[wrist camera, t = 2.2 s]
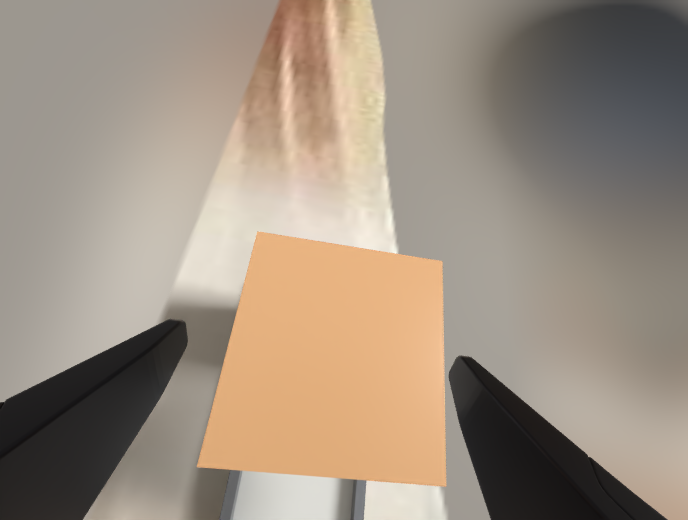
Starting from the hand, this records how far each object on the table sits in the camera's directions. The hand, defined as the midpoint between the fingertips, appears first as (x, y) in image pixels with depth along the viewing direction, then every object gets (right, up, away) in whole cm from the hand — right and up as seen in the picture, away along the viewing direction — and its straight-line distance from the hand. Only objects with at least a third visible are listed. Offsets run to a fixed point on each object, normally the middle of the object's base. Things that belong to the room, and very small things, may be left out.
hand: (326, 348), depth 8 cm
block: (-1, -3, +8) cm, 8 cm away
